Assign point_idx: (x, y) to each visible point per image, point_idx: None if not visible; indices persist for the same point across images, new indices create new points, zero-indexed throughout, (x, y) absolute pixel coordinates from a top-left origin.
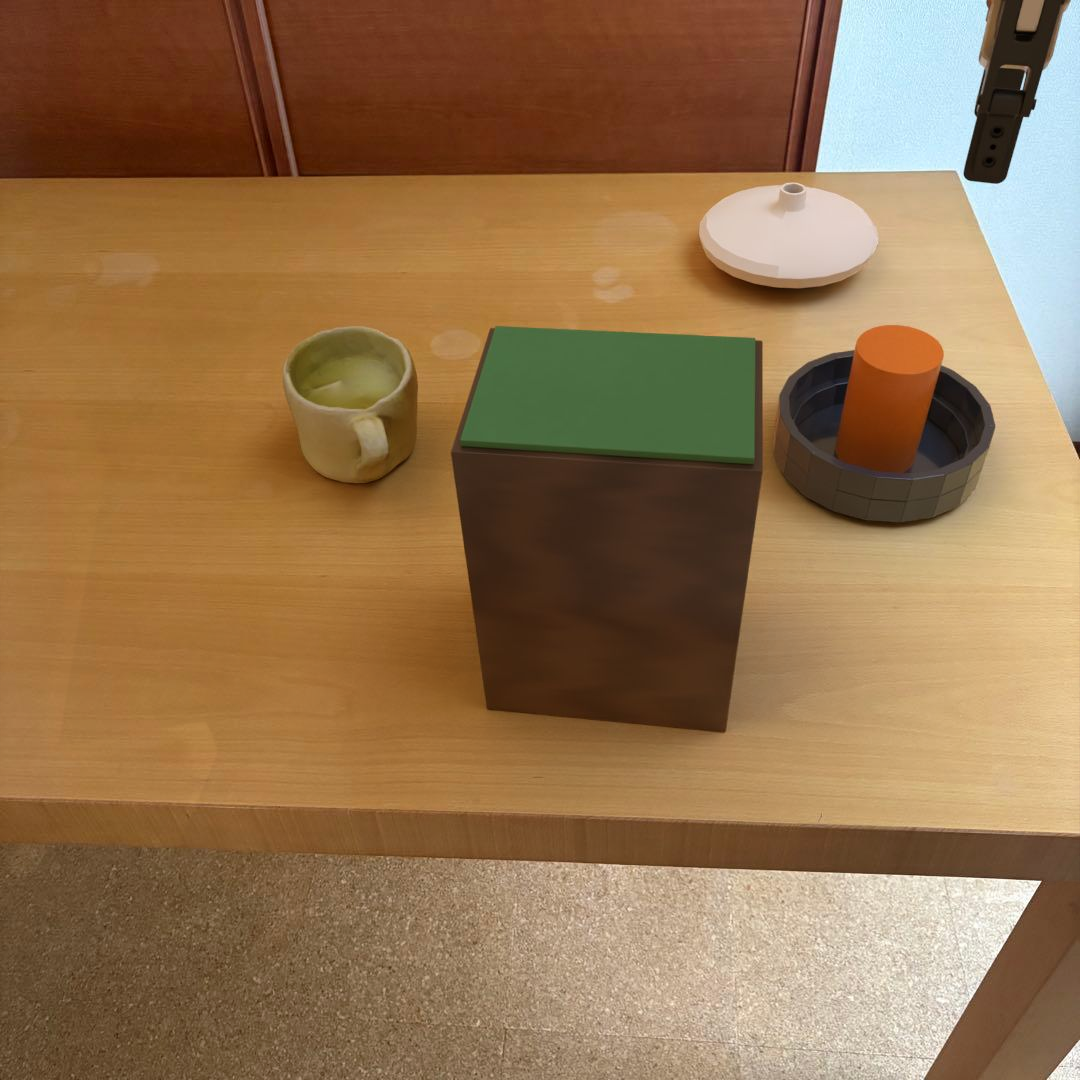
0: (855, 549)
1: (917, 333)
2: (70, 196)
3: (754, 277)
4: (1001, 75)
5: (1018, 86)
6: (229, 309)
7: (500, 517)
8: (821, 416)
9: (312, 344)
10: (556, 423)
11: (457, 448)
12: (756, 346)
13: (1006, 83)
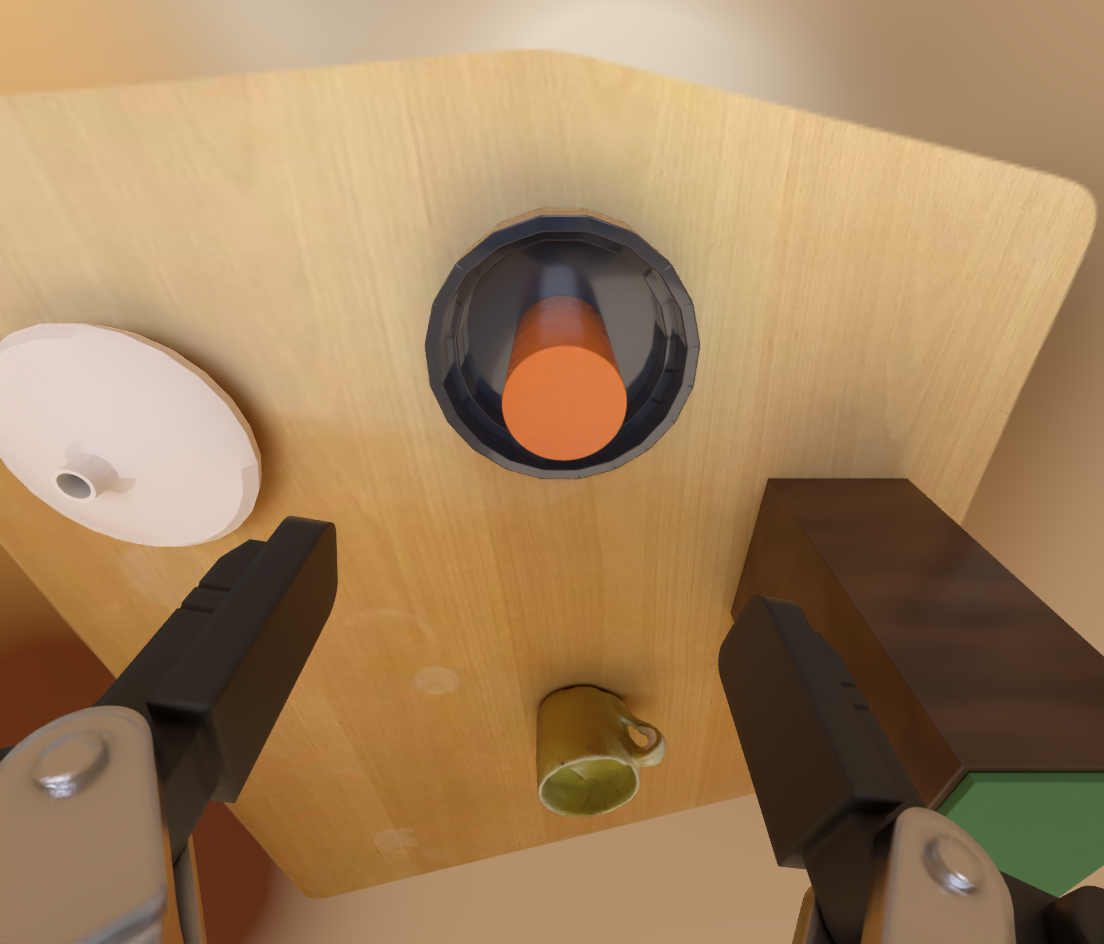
0: (709, 368)
1: (522, 379)
2: (316, 878)
3: (260, 483)
4: (269, 684)
5: (279, 604)
6: (427, 792)
7: None
8: (501, 399)
9: (562, 807)
10: (1049, 879)
11: None
12: (973, 770)
13: (280, 642)
